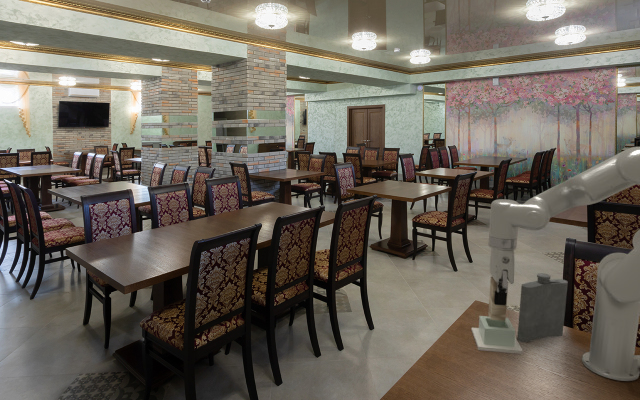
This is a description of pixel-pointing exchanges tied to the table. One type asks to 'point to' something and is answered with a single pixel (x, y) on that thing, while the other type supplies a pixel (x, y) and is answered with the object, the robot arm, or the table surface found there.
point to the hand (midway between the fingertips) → (498, 300)
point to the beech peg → (496, 310)
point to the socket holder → (496, 336)
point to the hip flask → (542, 308)
